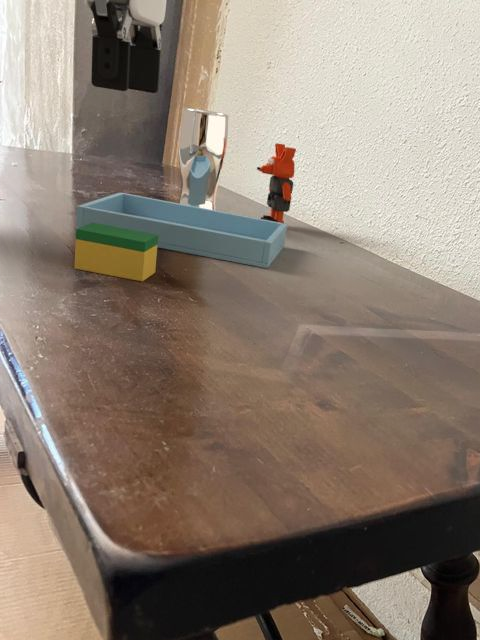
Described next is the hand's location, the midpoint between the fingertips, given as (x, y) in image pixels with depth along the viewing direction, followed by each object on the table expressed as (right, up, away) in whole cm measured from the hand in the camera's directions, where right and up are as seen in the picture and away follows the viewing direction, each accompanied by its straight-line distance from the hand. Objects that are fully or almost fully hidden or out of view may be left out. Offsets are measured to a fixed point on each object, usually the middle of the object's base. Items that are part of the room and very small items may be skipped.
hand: (126, 89), depth 71 cm
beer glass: (0, -1, +41) cm, 41 cm away
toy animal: (+10, 0, +47) cm, 48 cm away
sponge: (-3, -16, +6) cm, 17 cm away
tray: (+1, -8, +26) cm, 27 cm away
